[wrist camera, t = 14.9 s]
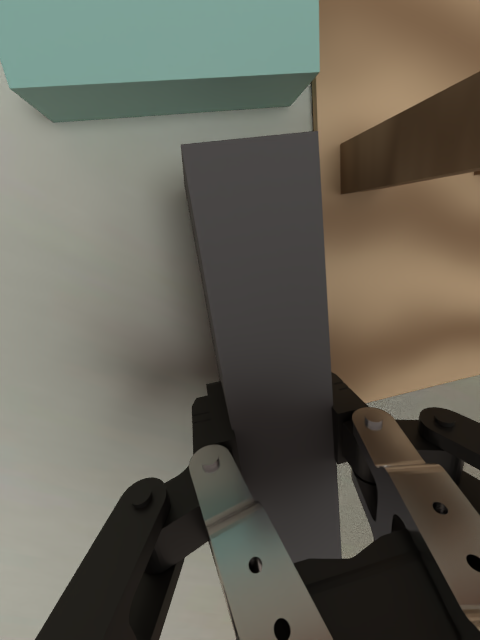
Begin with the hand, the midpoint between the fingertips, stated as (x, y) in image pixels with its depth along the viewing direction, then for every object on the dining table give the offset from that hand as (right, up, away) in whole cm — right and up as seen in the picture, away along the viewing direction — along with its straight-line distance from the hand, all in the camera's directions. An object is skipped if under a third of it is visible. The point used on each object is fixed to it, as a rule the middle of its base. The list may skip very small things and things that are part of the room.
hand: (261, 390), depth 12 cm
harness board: (+8, +8, +2) cm, 12 cm away
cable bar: (0, +1, +1) cm, 2 cm away
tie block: (-4, +13, -2) cm, 14 cm away
